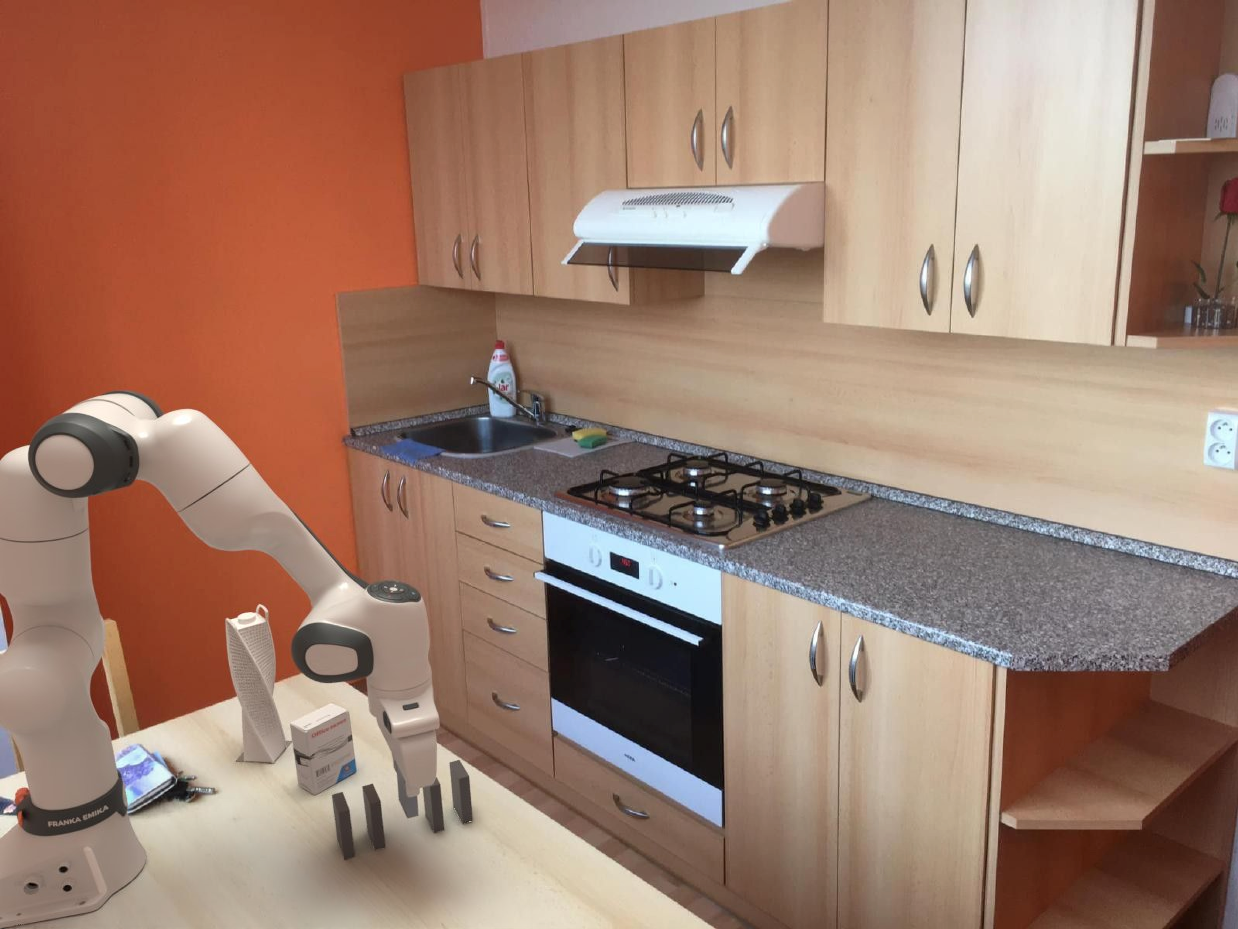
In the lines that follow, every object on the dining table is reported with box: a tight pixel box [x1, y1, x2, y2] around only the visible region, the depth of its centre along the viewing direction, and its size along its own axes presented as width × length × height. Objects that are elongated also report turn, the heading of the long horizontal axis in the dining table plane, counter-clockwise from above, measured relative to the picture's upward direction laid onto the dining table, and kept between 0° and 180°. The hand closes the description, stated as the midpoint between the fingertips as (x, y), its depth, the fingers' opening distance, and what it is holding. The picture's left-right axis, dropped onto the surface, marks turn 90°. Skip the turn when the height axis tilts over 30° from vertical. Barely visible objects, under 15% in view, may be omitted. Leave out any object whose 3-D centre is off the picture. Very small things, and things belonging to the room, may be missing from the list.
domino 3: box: [396, 763, 419, 819], centre depth 147 cm, size 2×5×8 cm, turn 25°
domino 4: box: [422, 776, 445, 834], centre depth 158 cm, size 2×5×8 cm, turn 25°
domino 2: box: [361, 783, 386, 852], centre depth 154 cm, size 2×5×8 cm, turn 25°
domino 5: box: [449, 759, 474, 825], centre depth 160 cm, size 2×5×8 cm, turn 25°
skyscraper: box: [224, 604, 293, 765], centre depth 175 cm, size 8×8×28 cm
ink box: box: [289, 702, 358, 796], centre depth 169 cm, size 8×5×12 cm, turn 141°
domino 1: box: [331, 791, 356, 861], centre depth 152 cm, size 2×5×8 cm, turn 25°
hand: (406, 782), depth 147 cm, fingers closed on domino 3, 5 cm apart
